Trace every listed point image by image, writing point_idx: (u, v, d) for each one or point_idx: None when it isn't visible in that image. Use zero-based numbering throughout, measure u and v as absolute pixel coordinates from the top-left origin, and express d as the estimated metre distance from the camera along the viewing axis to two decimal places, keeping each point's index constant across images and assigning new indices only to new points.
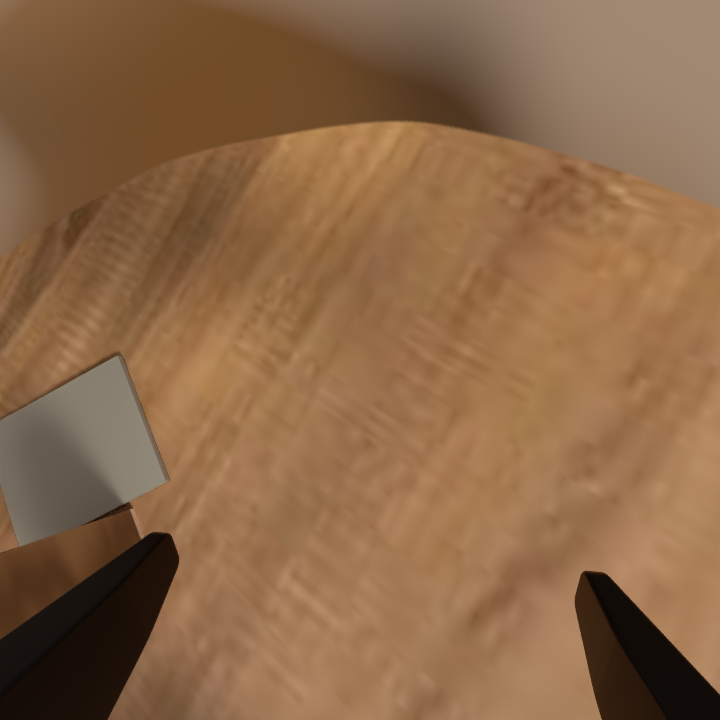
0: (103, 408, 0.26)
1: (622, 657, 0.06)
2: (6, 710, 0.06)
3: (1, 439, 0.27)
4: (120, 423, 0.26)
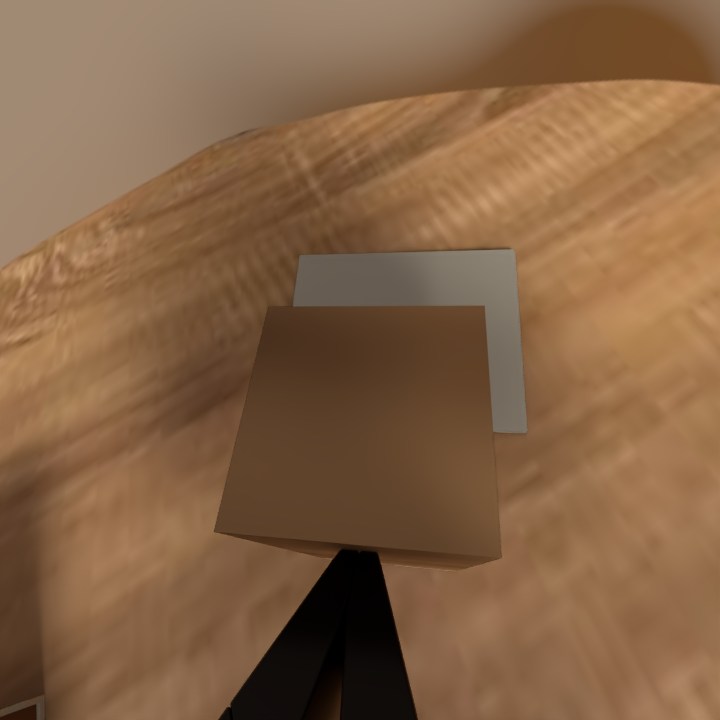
0: (469, 300, 0.19)
1: None
2: None
3: (316, 275, 0.21)
4: (486, 328, 0.19)
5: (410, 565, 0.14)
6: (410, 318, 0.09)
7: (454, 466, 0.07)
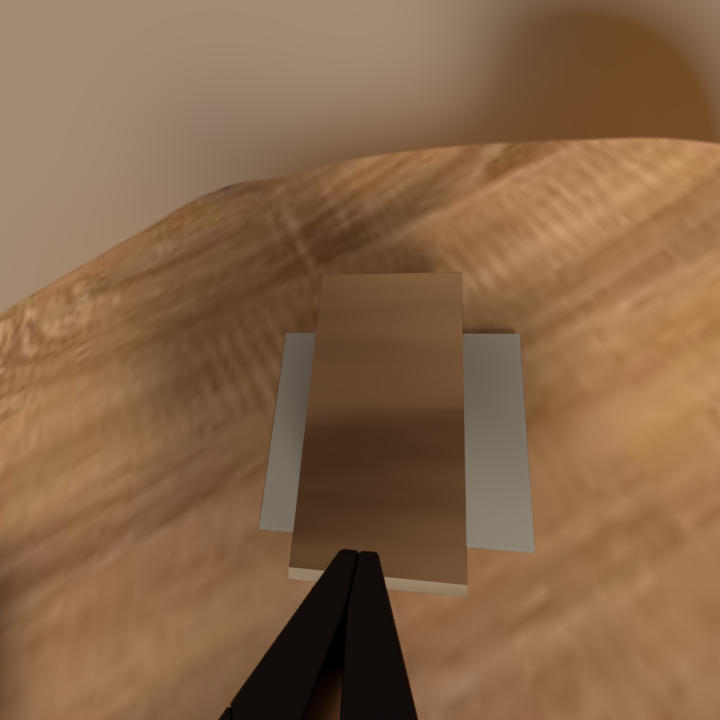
0: (470, 392, 0.18)
1: None
2: None
3: (303, 357, 0.19)
4: (489, 426, 0.17)
5: (407, 521, 0.12)
6: None
7: None
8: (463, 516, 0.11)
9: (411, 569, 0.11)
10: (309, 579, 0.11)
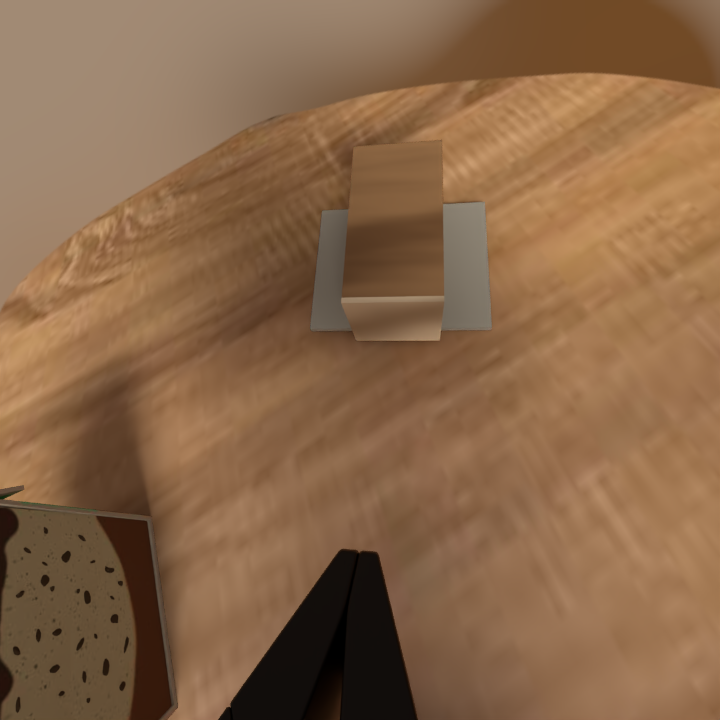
0: (450, 239, 0.26)
1: None
2: None
3: (335, 225, 0.28)
4: (463, 258, 0.25)
5: (409, 269, 0.20)
6: None
7: None
8: (442, 264, 0.20)
9: (412, 291, 0.20)
10: (353, 302, 0.20)
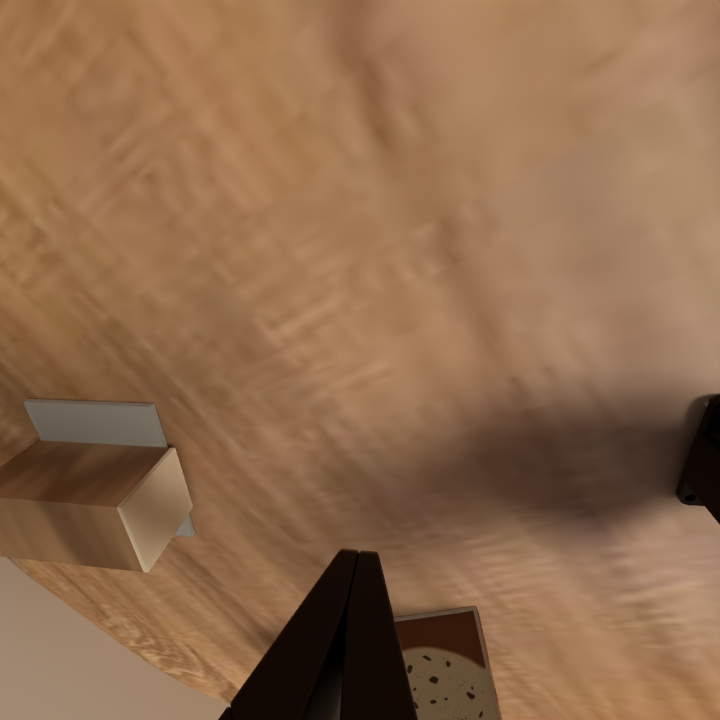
0: (73, 432, 0.26)
1: None
2: None
3: None
4: (89, 424, 0.26)
5: (101, 527, 0.22)
6: None
7: None
8: (87, 506, 0.21)
9: (121, 527, 0.22)
10: (144, 564, 0.23)
